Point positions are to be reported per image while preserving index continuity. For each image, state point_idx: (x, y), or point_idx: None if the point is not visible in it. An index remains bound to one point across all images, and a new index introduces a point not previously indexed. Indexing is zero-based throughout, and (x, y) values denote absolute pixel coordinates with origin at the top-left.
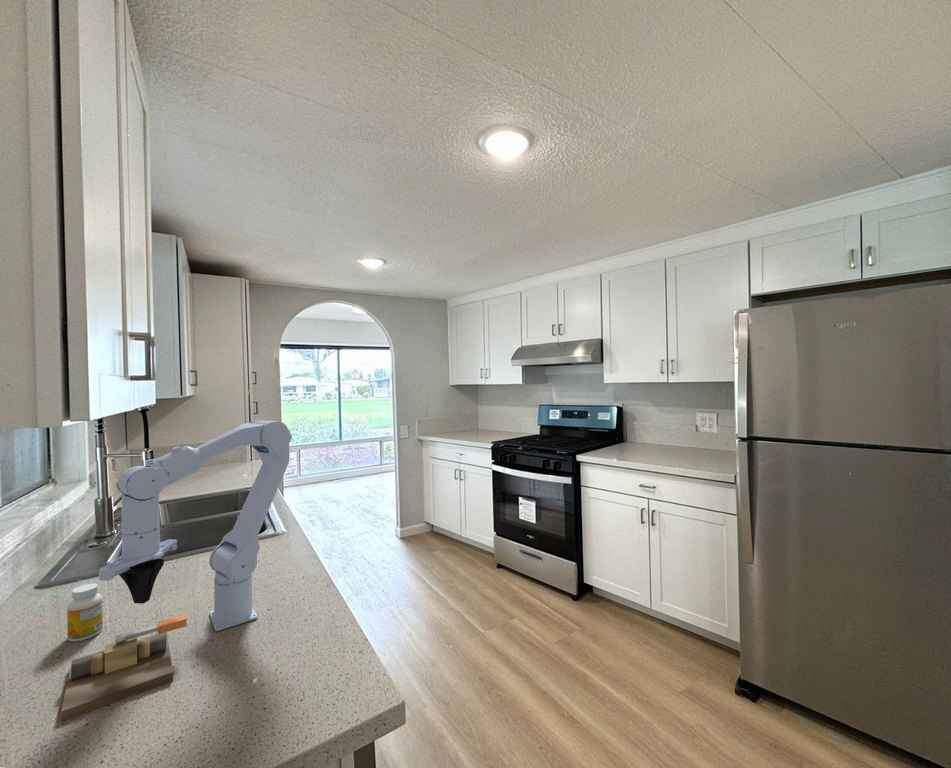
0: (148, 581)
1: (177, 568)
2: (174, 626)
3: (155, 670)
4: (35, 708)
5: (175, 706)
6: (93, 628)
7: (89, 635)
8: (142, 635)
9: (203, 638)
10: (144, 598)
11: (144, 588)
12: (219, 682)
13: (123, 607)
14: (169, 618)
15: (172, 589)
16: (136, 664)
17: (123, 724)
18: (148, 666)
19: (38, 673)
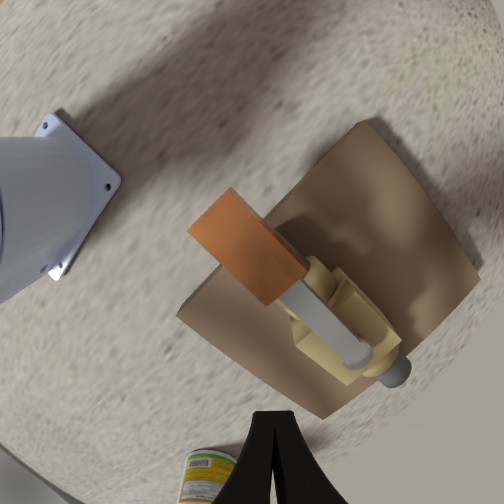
0: (291, 499)
1: (17, 440)
2: (262, 221)
3: (365, 179)
4: (431, 354)
5: (425, 58)
6: (213, 463)
7: (221, 455)
8: (327, 305)
9: (156, 193)
10: (295, 426)
11: (312, 470)
12: (340, 4)
13: (122, 460)
14: (236, 277)
15: (46, 420)
16: (342, 264)
17: (476, 135)
18: (350, 218)
19: (333, 438)
